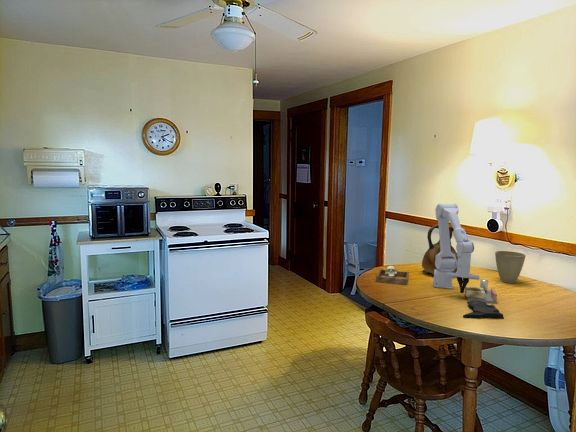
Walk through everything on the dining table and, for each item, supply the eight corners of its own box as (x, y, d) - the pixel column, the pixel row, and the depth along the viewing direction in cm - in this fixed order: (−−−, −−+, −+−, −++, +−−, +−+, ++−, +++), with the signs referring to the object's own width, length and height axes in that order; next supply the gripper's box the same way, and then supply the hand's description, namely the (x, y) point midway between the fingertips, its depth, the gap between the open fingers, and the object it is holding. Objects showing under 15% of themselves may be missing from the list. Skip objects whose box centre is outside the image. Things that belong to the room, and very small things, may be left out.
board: (468, 300, 191) (469, 291, 190) (465, 289, 208) (465, 281, 207) (496, 303, 187) (497, 294, 186) (490, 292, 204) (491, 283, 203)
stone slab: (456, 305, 190) (456, 295, 190) (494, 310, 186) (495, 300, 185) (462, 319, 169) (463, 307, 168) (506, 324, 164) (507, 312, 164)
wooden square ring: (466, 296, 192) (466, 290, 191) (464, 292, 199) (465, 286, 199) (484, 298, 189) (485, 292, 189) (482, 293, 197) (482, 288, 196)
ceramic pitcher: (463, 278, 228) (466, 226, 224) (427, 278, 228) (430, 226, 224) (449, 269, 247) (453, 221, 243) (417, 269, 248) (419, 221, 244)
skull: (403, 282, 216) (391, 267, 217) (388, 292, 220) (376, 278, 220) (404, 275, 228) (392, 261, 228) (389, 285, 231) (378, 272, 232)
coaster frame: (376, 281, 219) (376, 276, 219) (379, 274, 235) (379, 269, 234) (407, 285, 214) (407, 279, 214) (408, 277, 229) (408, 272, 229)
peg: (480, 292, 200) (481, 280, 199) (479, 290, 203) (480, 278, 202) (487, 293, 199) (488, 281, 198) (486, 291, 202) (487, 279, 201)
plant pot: (528, 282, 222) (530, 254, 220) (514, 286, 214) (517, 257, 212) (501, 276, 234) (503, 249, 232) (487, 280, 226) (489, 252, 224)
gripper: (448, 266, 193) (446, 293, 195) (481, 269, 188) (479, 296, 190) (447, 262, 199) (445, 289, 201) (479, 265, 195) (477, 292, 196)
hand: (461, 292), depth 196 cm, fingers closed
